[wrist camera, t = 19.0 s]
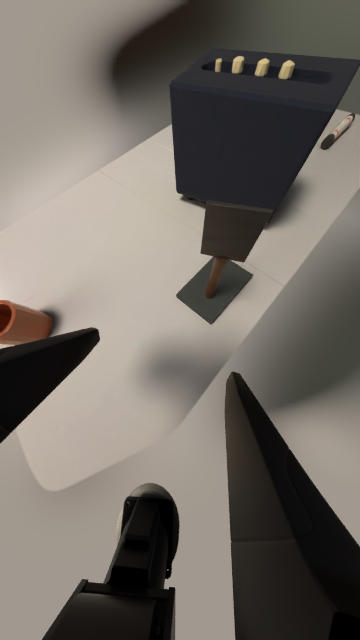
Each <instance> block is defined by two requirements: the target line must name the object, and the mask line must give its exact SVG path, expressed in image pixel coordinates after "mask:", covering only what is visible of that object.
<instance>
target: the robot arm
mask: <svg viewBox="0 0 360 640" xmlns="http://www.w3.org/2000/svg"><path fill="white" fill-rule="evenodd" d="M99 340H100V337H99V331H98V329H96V328H87V329H82V330H78V331H74V332H70V333H66V334H61V335H57V336H53V337H49V338H45V339H40V340H36V341H32V342H28V343H23V344H19V345H15V346H11V347H6V348H2V349H0V443H1V442H2V441H3V440H4V439H5V438H6V437H7V436H8V435H9V434H10V433H11V432H12V431H13V430H14V429H15V428H16V427H17V426H18V425H19V424H20V423H21V422H22V421H23V420H24V419H25V418H26V417H27V416H28V415H29V414H30V413H31V412H32V411H33V410H34V409H35V408H36V407H37V406H38V405H39V404H40V403H41V402H42V401H43V400H44V399H45V398H46V397H47V396H48V395H49V394H50V393H51V392H52V391H53V390H54V389H55V388H56V387H57V386H58V385H59V384H60V383H61V382H62V381H63V380H64V379H65V378H66V377H67V376H68V375H69V374H70V373H71V372H72V371H73V370H74V369H75V368H76V367H77V366H78V365H79V364H80V363H81V362H82V361H83V360H84V359H85V358H86V357H87V355H88V354H89V353H90V352H91V351H92V349H93V348H94V347H95V346H96V345H97V343H98V342H99ZM225 428H226V429H225V430H226V449H227V470H228V490H229V512H230V533H231V557H232V577H233V599H234V619H235V639H236V640H360V546H359V545H358V544H357V542H356V541H355V540H354V538H353V537H352V536H351V534H350V533H349V532H348V530H347V529H346V527H345V526H344V525H343V523H342V522H341V521H340V519H339V518H338V517H337V515H336V514H335V513H334V511H333V510H332V508H331V507H330V506H329V505H328V503H327V502H326V500H325V499H324V497H323V496H322V495H321V493H320V492H319V490H318V489H317V488H316V486H315V485H314V484H313V482H312V481H311V479H310V478H309V476H308V475H307V473H306V472H305V471H304V469H303V468H302V466H301V465H300V463H299V462H298V460H297V459H296V458H295V456H294V454H293V453H292V451H291V450H290V449H289V447H288V445H287V444H286V443H285V441H284V439H283V438H282V437H281V435H280V434H279V432H278V431H277V429H276V427H275V426H274V425H273V423H272V421H271V420H270V418H269V417H268V415H267V414H266V413H265V411H264V409H263V408H262V407H261V405H260V403H259V402H258V400H257V399H256V397H255V396H254V395H253V393H252V391H251V390H250V389H249V387H248V386H247V384H246V382H245V381H244V379H243V378H242V377H241V375H240V374H239V373H236V372H231V374H230V376H229V378H228V379H227V383H226V396H225ZM127 502H129V504H128V503H127ZM168 505H170V506H171V507H168ZM172 543H173V501H172V500H170V499H159V498H149V497H135V496H128V497H126V499H125V501H124V506H123V516H122V526H121V536H120V541H119V543H118V546H117V549H116V551H115V554H114V557H113V559H112V562H111V565H110V567H109V570H108V573H107V575H106V578H105V581H104V583H91V582H88V580H86V579H82V580H81V582H80V584H79V585H78V586H77V588H76V590H75V591H74V592H73V594H72V596H71V597H70V598H69V600H68V601H67V603H66V604H65V606H64V607H63V609H62V610H61V612H60V613H59V615H58V616H57V618H56V619H55V621H54V622H53V624H52V625H51V627H50V628H49V630H48V631H47V633H46V634H45V636H44V637H43V639H42V640H175V588H174V587H169V589H164V582H165V579H169V578H170V577H171V573H172ZM166 569H168V570H166Z"/></svg>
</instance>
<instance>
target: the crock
mask: <svg viewBox="0 0 360 640" xmlns="http://www.w3.org/2000/svg"><path fill="white" fill-rule="evenodd" d="M51 329H52V319H51V317H50V316H49V315H48V314H46V313H43V312H41V311H38V310H35V309H32V308H29V307H26V306H22V305H19V304H16V303H13V302H10V301H7V300H0V344H4V345H19V344H23V343H28V342H32V341H36V340H40V339H45V338H47V336H48V335H49V334H50V332H51Z"/></svg>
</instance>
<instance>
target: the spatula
mask: <svg viewBox="0 0 360 640" xmlns="http://www.w3.org/2000/svg"><path fill="white" fill-rule="evenodd" d="M272 212H273V210H272V209H266V208H259V207H252V206H245V205H238V204H232V203H225V202H218V201H211V200H208V201H207V203H206V211H205V220H204V228H203V237H202V245H201V254H205V255H210V256H215V259H214V262H213V266H212V270H211V274H210V278H209V282H208V285H207V289H206V293H205V296H206V297H207V298H208V299H211V298H213V296H214V294H215V292H216V289H217V287H218V284H219V282H220V279H221V277H222V274H223V272H224V269H225V267H226V264H227V262H228V259H230V260H234V261H239V262H245V260H246V258H247V256H248V255H249V253H250V251H251V249H252V248H253V246H254V244H255V242H256V241H257V239H258V237H259V235H260V234H261V232H262V230H263V229H264V227H265V225H266V223H267V222H268V220H269V218H270V216H271V215H272Z"/></svg>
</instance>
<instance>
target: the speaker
mask: <svg viewBox="0 0 360 640" xmlns="http://www.w3.org/2000/svg"><path fill="white" fill-rule="evenodd" d="M359 66H360V60H355V59H342V58H329V57H317V56H304V55H292V54H279V53H267V52H266V53H265V52H254V51H241V50H228V49H217V48H212V49H210V50H209V51H208V52H207V53H206V54H204V55H203V56H202V57H201V58H199V59H198V60H197V61H196V62H195V63H193V64H192V65H191V66H190V67H188V68H187V69H186V70H185V71H183V72H182V73H181V74H180V75H178V76H177V77H176V78H175V79H174V80H172V81H171V83H170V101H171V115H172V131H173V146H174V161H175V175H176V190H177V192H178V193H180V194H183V195H186V196H187V198H188V199H190V200H192V199H197V200H200V201H203V202H206V203H207V201H208V200H211V201H218V202H225V203H232V204H238V205H245V206H252V207H259V208H266V209H272V210H273V212H272V215H271V216H270V218H269V220H268V222H267V223H269V222H270V220H271V219H272V217H273V215H274V214H275V212H276V210H277V209H278V207H279V205H280V204H281V202H282V200H283V198H284V197H285V195H286V193H287V192H288V190H289V188H290V187H291V185H292V183H293V182H294V180H295V178H296V176H297V175H298V173H299V171H300V170H301V168H302V166H303V165H304V163H305V161H306V160H307V158H308V156H309V154H310V153H311V151H312V149H313V148H314V146H315V144H316V143H317V141H318V139H319V138H320V136H321V134H322V133H323V131H324V129H325V127H326V126H327V124H328V122H329V121H330V119H331V117H332V116H333V114H334V112H335V110H336V109H337V107H338V105H339V103H340V101H341V99H342V97H343V96H344V94H345V92H346V90H347V88H348V86H349V85H350V83H351V81H352V79H353V77H354V75H355V74H356V72H357V70H358V68H359Z"/></svg>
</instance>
